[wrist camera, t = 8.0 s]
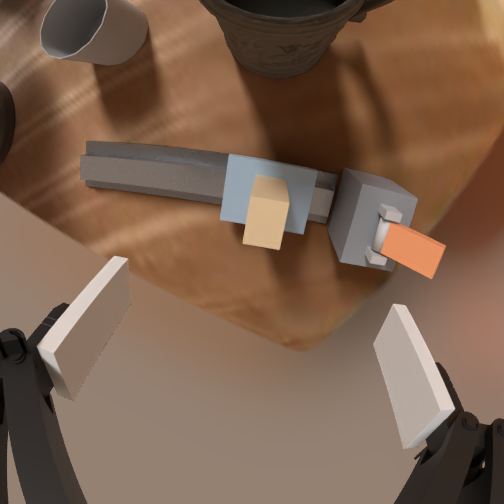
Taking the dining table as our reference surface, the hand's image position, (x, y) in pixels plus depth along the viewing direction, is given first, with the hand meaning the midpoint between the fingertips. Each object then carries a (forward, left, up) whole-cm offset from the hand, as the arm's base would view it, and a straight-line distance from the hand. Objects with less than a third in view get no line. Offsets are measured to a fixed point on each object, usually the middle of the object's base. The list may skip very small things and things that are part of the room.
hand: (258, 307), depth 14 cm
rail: (-8, 0, -23) cm, 24 cm away
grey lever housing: (+11, 0, -23) cm, 25 cm away
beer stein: (0, +19, -23) cm, 30 cm away
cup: (-21, +17, -23) cm, 35 cm away
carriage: (0, 0, -23) cm, 23 cm away
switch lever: (+11, 0, -14) cm, 18 cm away
